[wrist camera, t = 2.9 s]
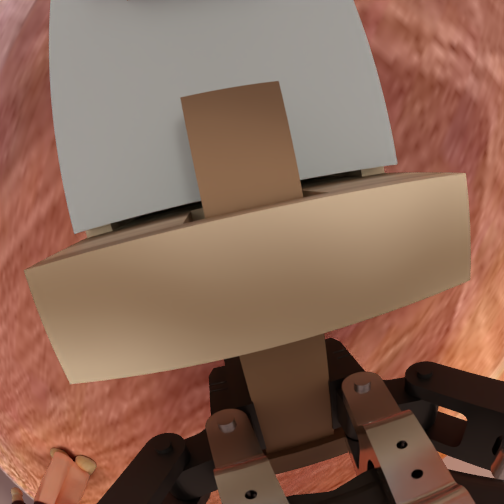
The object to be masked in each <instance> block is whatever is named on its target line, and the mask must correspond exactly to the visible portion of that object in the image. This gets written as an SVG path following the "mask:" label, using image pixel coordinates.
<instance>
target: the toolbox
mask: <svg viewBox="0 0 504 504" xmlns="http://www.w3.org/2000/svg"><path fill="white" fill-rule="evenodd" d="M300 182H301V188H302V193H303V198H299V199H294V200H289V201H284V202H279V203H274V204H269V205H265V206H260V207H255V208H251V209H246V210H241V211H237V212H232V213H228V214H224V215H219V216H215V217H210V218H206V219H205V215H204V211H203V206H202V202H201V201H197V202H192V203H188V204H184V205H180V206H176V207H172V208H168V209H164V210H160V211H156V212H152V213H148V214H144V215H140V216H136V217H133V218H129V219H125V220H121V221H118V222H114V223H110V224H107V225H103V226H100V227H96V228H93V229H89V230H86V235H87V238H86V239H84V240H82V241H80V242H78V243H76V244H74V245H72V246H70V247H68V248H66V249H64V250H62V251H60V252H58V253H56V254H54V255H52V256H50V257H48V258H46V259H44V260H42V261H40V262H39V263H37V264H35V265H33V266H31V267H29V268H27V269H26V270H24V272H25V276H26V279H27V282H28V285H29V288H30V291H31V294H32V297H33V299H34V302H35V305H36V308H37V310H38V313H39V315H40V318H41V321H42V323H43V326H44V328H45V330H46V333H47V335H48V338H49V340H50V342H51V345H52V347H53V349H54V351H55V353H56V356H57V358H58V360H59V362H60V364H61V366H62V368H63V370H64V372H65V374H66V376H67V378H68V380H69V382H70V384H76V383H86V382H94V381H103V380H110V379H118V378H125V377H131V376H138V375H144V374H151V373H156V372H162V371H168V370H173V369H179V368H184V367H189V366H194V365H199V364H204V363H209V362H214V361H218V360H223V359H227V358H232V357H236V356H240V355H245V354H249V353H253V352H257V351H261V350H265V349H269V348H273V347H277V346H280V345H284V344H288V343H292V342H295V341H299V340H302V339H306V338H309V337H313V336H316V335H320V334H323V333H326V332H330V331H333V330H336V329H339V328H343V327H346V326H349V325H352V324H355V323H358V322H361V321H364V320H367V319H370V318H373V317H376V316H379V315H382V314H385V313H388V312H390V311H393V310H396V309H399V308H401V307H404V306H407V305H410V304H412V303H415V302H417V301H420V300H423V299H425V298H428V297H430V296H433V295H435V294H438V293H440V292H443V291H445V290H448V289H450V288H453V287H455V286H457V285H460V284H462V283H464V282H467V281H469V280H470V269H471V243H470V217H469V202H468V191H467V181H466V173H431V172H416V173H384V167H383V166H381V167H375V168H368V169H361V170H355V171H349V172H342V173H336V174H331V175H325V176H319V177H313V178H308V179H302V180H300Z"/></svg>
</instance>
